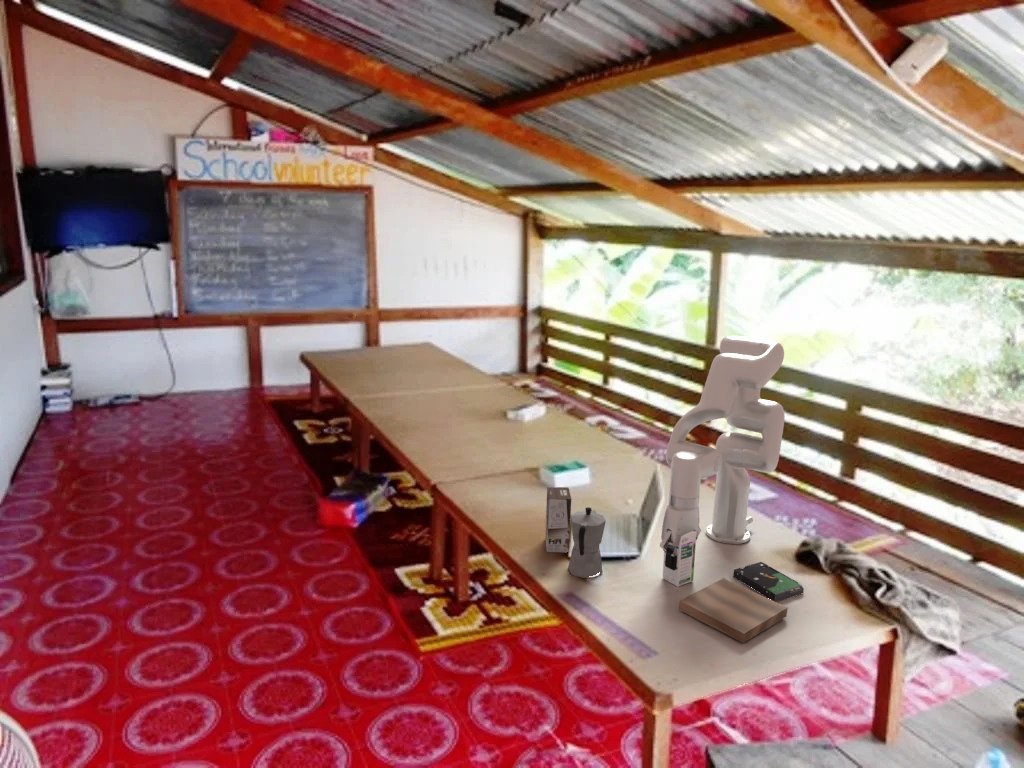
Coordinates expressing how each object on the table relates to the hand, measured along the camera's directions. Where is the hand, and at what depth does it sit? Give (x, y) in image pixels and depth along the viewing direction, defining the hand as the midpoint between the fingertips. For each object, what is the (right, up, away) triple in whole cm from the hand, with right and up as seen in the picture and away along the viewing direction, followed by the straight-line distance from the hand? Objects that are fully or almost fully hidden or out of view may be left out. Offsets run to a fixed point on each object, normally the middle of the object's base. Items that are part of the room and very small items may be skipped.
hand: (678, 563), depth 201 cm
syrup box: (0, -5, +1) cm, 5 cm away
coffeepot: (-24, -3, +4) cm, 25 cm away
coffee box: (-31, +1, +19) cm, 36 cm away
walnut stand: (+10, -9, -15) cm, 20 cm away
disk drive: (+23, -6, 0) cm, 24 cm away
